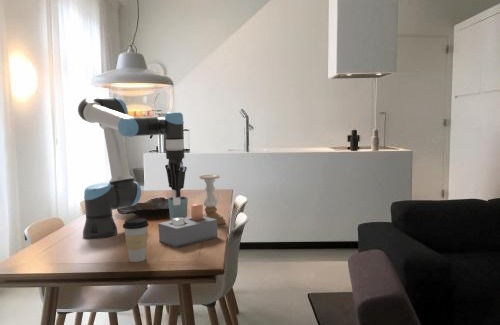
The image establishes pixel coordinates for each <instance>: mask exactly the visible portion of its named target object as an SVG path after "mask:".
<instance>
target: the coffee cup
mask: <svg viewBox="0 0 500 325" xmlns="http://www.w3.org/2000/svg"><path fill="white" fill-rule="evenodd" d="M148 227H149V221H147V219H146V218H143V217H141V218H140V217H138V218H137V217H136V218H130V219H125V221H124V223H123V224H122V228H123V229H124V237H125V243H126V248H127V252H128V259H129V262H131V263H139V262H144V261H145V260H146V254H147V252H146V251H147V243H148V242H147V241H148V240H147V239H148Z"/></svg>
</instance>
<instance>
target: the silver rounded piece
mask: <svg viewBox="0 0 500 325" xmlns="http://www.w3.org/2000/svg"><path fill="white" fill-rule="evenodd" d="M183 224H185V223H184V218H173V219H172V225H175V226H179V225H183Z"/></svg>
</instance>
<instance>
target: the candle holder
mask: <svg viewBox="0 0 500 325" xmlns="http://www.w3.org/2000/svg"><path fill="white" fill-rule="evenodd" d="M220 177H221V176H220V175H218V174H204V175H200V176H198V178H199V179H200V180H203V181H204V182H205V187H204V190H205V192H206V195H205V196H204V198H203V200H202V201H203V202H202V204H203V206H204V207H205V208H204V212H205V213H203V216H205V217H209V218H213V219H217V226H218V225H225V224H226V219H224V216H222V215H220V214H219V213H218V212H217V211H218V209H217V207H216V206H218V202H219V201H218V199H217V197H216V196H215V194H214V192H215V190H216V187H215V185H214V184H215V181H216V180H217V179H220Z"/></svg>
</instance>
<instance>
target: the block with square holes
mask: <svg viewBox="0 0 500 325" xmlns="http://www.w3.org/2000/svg"><path fill="white" fill-rule="evenodd" d="M184 223H185V224H183V225H179V226H175V225H172V221H170V220H167V221H163V222H158V239H159V240H158V241H159V242H160V243H163V244H165V245H168V246H172V247H174V248H177V249H179V248H182V247H186V246H190V245H194V244H197V243H201V242H205V241H210V240H211V239H212V240H213V239H216V238H219V237H218V225H217V219H213V218H209V217H205V216H203V220H201V221H196V222H195V221H192V220H191V216H187V217H186V218H184Z"/></svg>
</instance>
